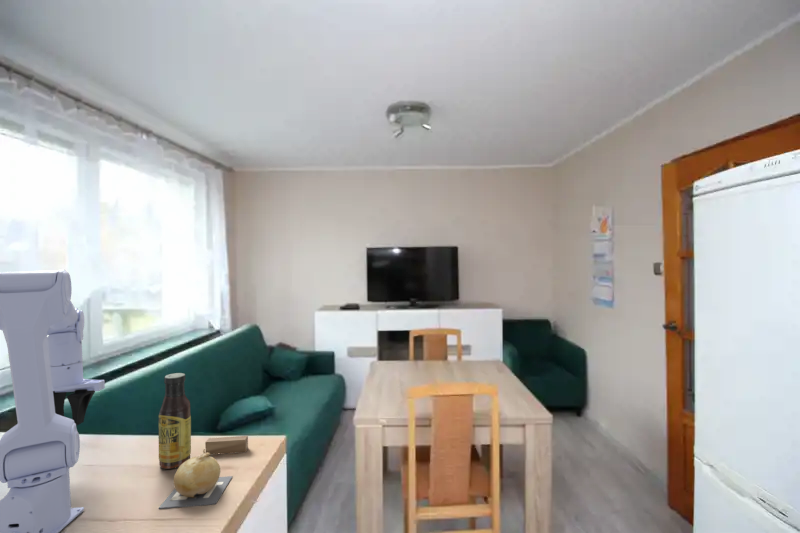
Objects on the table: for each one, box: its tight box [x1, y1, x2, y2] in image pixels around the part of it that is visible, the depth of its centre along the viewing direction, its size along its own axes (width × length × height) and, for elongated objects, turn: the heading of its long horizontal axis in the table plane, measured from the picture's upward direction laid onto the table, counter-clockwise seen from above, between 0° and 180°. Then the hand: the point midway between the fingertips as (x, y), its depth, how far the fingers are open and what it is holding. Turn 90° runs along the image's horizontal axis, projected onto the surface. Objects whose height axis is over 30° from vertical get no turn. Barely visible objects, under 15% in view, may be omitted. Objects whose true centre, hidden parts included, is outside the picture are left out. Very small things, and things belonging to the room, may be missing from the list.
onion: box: [173, 448, 221, 498], centre depth 75 cm, size 8×8×7 cm
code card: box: [158, 475, 233, 510], centre depth 75 cm, size 9×10×1 cm
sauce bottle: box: [158, 372, 192, 470], centre depth 86 cm, size 7×6×20 cm
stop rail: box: [204, 435, 249, 455], centre depth 91 cm, size 2×9×3 cm, turn 95°
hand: (68, 424), depth 85 cm, fingers open, 4 cm apart
